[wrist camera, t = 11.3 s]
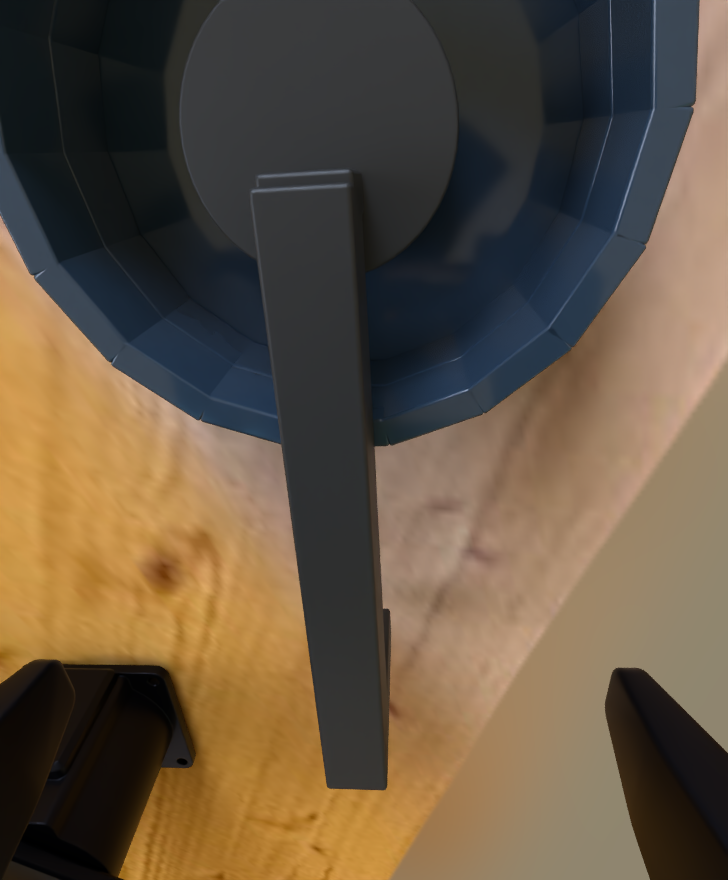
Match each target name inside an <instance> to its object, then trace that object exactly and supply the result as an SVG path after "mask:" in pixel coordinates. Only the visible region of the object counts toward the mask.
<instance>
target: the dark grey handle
mask: <svg viewBox="0 0 728 880" xmlns="http://www.w3.org/2000/svg"><path fill="white" fill-rule="evenodd" d="M179 127H180V136H181V144H182V149H183V154H184V158H185V162H186V166H187V169H188V172H189V175H190V178H191V181H192V183H193V186H194V188H195V190H196V192H197V194H198V196H199V198H200V200H201V203H202V204H203V206H204V207H205V209H206V211H207V212H208V214H209V215H210V217H211V219H212V220H213V221H214V222H215V224H216V225H217V226H218V227H219V229H220V230H221V231H222V232H223V234H224V235H225V236H226V237H227V238H228V239H229V240H230V241H231V242H232V243H233V244H234V245H235V246H237V247H238V248H239V249H240V250H242V251H243V252H244V253H245V254H247V255H248V256H249V257H251V258H252V259H254V260H256V261H257V265H258V273H259V280H260V288H261V295H262V303H263V310H264V318H265V325H266V333H267V340H268V348H269V355H270V363H271V370H272V378H273V385H274V393H275V400H276V408H277V415H278V423H279V431H280V438H281V446H282V453H283V461H284V468H285V476H286V483H287V491H288V498H289V506H290V513H291V521H292V528H293V536H294V543H295V551H296V558H297V566H298V573H299V581H300V588H301V596H302V603H303V611H304V618H305V626H306V633H307V641H308V648H309V656H310V663H311V671H312V678H313V686H314V693H315V701H316V708H317V716H318V723H319V731H320V738H321V746H322V754H323V761H324V769H325V776H326V784H327V787H328V788H330V789H360V790H386V788H387V774H388V735H389V696H390V657H391V620H390V611H389V609H383V603H382V584H381V565H380V546H379V527H378V508H377V488H376V469H375V450H374V431H373V412H372V392H371V373H370V354H369V335H368V316H367V297H366V277H365V273H367V272H369V271H372V270H374V269H376V268H378V267H380V266H382V265H384V264H385V263H387V262H389V261H391V260H392V259H393V258H395V257H396V256H397V255H399V254H400V253H401V252H403V251H404V250H405V249H406V248H407V247H408V246H409V245H410V244H411V243H412V242H413V241H414V240H415V239H416V238H417V237H418V236H419V235H420V234H421V233H422V231H423V230H424V229H425V228H426V226H427V225H428V224H429V222H430V221H431V219H432V218H433V216H434V214H435V213H436V211H437V209H438V208H439V206H440V204H441V202H442V199H443V197H444V195H445V193H446V190H447V188H448V185H449V182H450V179H451V176H452V173H453V169H454V165H455V160H456V154H457V149H458V138H459V106H458V99H457V93H456V86H455V81H454V78H453V74H452V71H451V67H450V64H449V61H448V58H447V56H446V54H445V51H444V49H443V46H442V44H441V42H440V40H439V38H438V36H437V35H436V33H435V31H434V29H433V28H432V26H431V24H430V22H429V21H428V20H427V18H426V17H425V16H424V14H423V13H422V12H421V10H420V9H419V8H418V7H417V5H416V4H415V3H414V2H413V1H412V0H220V1H219V2H218V3H217V4H216V5H215V7H214V8H213V9H212V11H211V12H210V14H209V15H208V17H207V18H206V19H205V21H204V22H203V24H202V26H201V28H200V30H199V32H198V34H197V36H196V38H195V40H194V42H193V44H192V47H191V50H190V53H189V55H188V58H187V61H186V65H185V69H184V73H183V78H182V82H181V91H180V100H179Z"/></svg>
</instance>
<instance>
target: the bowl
mask: <svg viewBox="0 0 728 880" xmlns="http://www.w3.org/2000/svg"><path fill="white" fill-rule="evenodd" d="M219 1H220V0H0V216H1V218H2V220H3V221H4V223H5V225H6V227H7V229H8V231H9V233H10V235H11V237H12V239H13V241H14V243H15V245H16V247H17V249H18V251H19V253H20V255H21V257H22V259H23V261H24V263H25V265H26V267H27V269H28V271H29V273H30V274H31V275H34V279H35V280H36V282H37V283H38V284H39V285H40V286H41V287H42V288H43V289H44V290H45V292H46V293H47V294H48V295H49V296H50V297H51V298H52V299H53V301H54V302H55V303H56V304H57V305H58V306H59V307H60V308H61V309H62V311H63V312H64V313H65V314H66V315H67V316H68V317H69V318H70V319H71V321H72V322H73V323H74V324H75V325H76V326H77V327H78V328H79V330H80V331H81V332H82V333H83V334H84V335H85V336H86V337H87V338H88V340H89V341H90V342H91V343H92V344H93V345H94V346H95V347H96V348H97V350H98V351H99V352H100V353H101V354H102V355H103V356H104V357H105V359H106V360H107V361H109V362H111V365H112V366H113V367H115V368H116V369H118V370H119V371H121V372H123V373H124V374H126V375H127V376H129V377H130V378H132V379H134V380H135V381H137V382H138V383H140V384H141V385H143V386H145V387H146V388H148V389H149V390H151V391H152V392H154V393H156V394H157V395H159V396H160V397H162V398H163V399H165V400H167V401H168V402H170V403H171V404H173V405H174V406H176V407H177V408H179V409H181V410H182V411H184V412H185V413H187V414H188V415H190V416H192V417H193V418H195V419H196V420H200V419H201V421H202V422H205V423H209V424H212V425H216V426H219V427H223V428H226V429H230V430H233V431H236V432H240V433H243V434H247V435H250V436H254V437H257V438H261V439H264V440H268V441H271V442H275V443H278V444H281V438H280V431H279V423H278V415H277V408H276V400H275V393H274V385H273V378H272V370H271V363H270V355H269V348H268V340H267V333H266V325H265V318H264V310H263V303H262V295H261V288H260V280H259V273H258V265H257V261H256V260H254V259H252V258H251V257H249V256H248V255H247V254H245V253H244V252H243V251H242V250H240V249H239V248H238V247H237V246H235V245H234V244H233V243H232V242H231V241H230V240H229V239H228V238H227V237H226V236H225V235H224V234H223V232H222V231H221V230H220V229H219V227H218V226H217V225H216V224H215V222H214V221H213V220H212V219H211V217H210V215H209V214H208V212H207V211H206V209H205V207H204V206H203V204H202V203H201V200H200V198H199V196H198V194H197V192H196V190H195V188H194V186H193V183H192V181H191V178H190V175H189V172H188V169H187V166H186V162H185V158H184V154H183V149H182V144H181V136H180V127H179V100H180V91H181V82H182V78H183V73H184V69H185V65H186V61H187V58H188V55H189V53H190V50H191V47H192V44H193V42H194V40H195V38H196V36H197V34H198V32H199V30H200V28H201V26H202V24H203V22H204V21H205V19H206V18H207V17H208V15H209V14H210V12H211V11H212V9H213V8H214V7H215V5H216V4H217V3H218V2H219ZM412 1H413V2H414V3H415V4H416V5H417V7H418V8H419V9H420V10H421V12H422V13H423V14H424V16H425V17H426V18H427V20H428V21H429V22H430V24H431V26H432V28H433V29H434V31H435V33H436V35H437V36H438V38H439V40H440V42H441V44H442V46H443V49H444V51H445V54H446V56H447V58H448V61H449V64H450V67H451V71H452V74H453V78H454V81H455V86H456V93H457V99H458V106H459V138H458V149H457V154H456V160H455V165H454V169H453V173H452V176H451V179H450V182H449V185H448V188H447V190H446V193H445V195H444V197H443V199H442V202H441V204H440V206H439V208H438V209H437V211H436V213H435V214H434V216H433V218H432V219H431V221H430V222H429V224H428V225H427V226H426V228H425V229H424V230H423V231H422V233H421V234H420V235H419V236H418V237H417V238H416V239H415V240H414V241H413V242H412V243H411V244H410V245H409V246H408V247H407V248H406V249H405V250H404V251H403V252H401V253H400V254H399V255H397V256H396V257H395V258H393V259H392V260H391V261H389V262H387V263H385V264H384V265H382V266H380V267H378V268H376V269H374V270H372V271H369V272H367V273H365V277H366V297H367V316H368V335H369V354H370V373H371V392H372V412H373V431H374V446H388V445H389V444H390V445H395V444H398V443H401V442H404V441H407V440H410V439H413V438H415V437H418V436H421V435H424V434H427V433H430V432H433V431H436V430H439V429H442V428H444V427H447V426H450V425H453V424H456V423H459V422H462V421H465V420H468V419H471V418H474V417H476V416H479V415H482V414H483V413H486V412H488V411H489V410H491V409H492V408H493V407H495V406H496V405H497V404H499V403H500V402H501V401H503V400H504V399H505V398H507V397H508V396H509V395H511V394H512V393H513V392H515V391H516V390H517V389H519V388H520V387H521V386H523V385H524V384H525V383H527V382H528V381H529V380H531V379H532V378H534V377H535V376H536V375H538V374H539V373H540V372H542V371H543V370H544V369H546V368H547V367H548V366H550V365H551V364H552V363H554V362H555V361H556V360H558V359H559V358H560V357H562V356H563V355H564V354H566V353H567V352H568V351H570V350H571V349H572V348H571V347H574V346H575V344H576V343H577V342H578V340H579V339H580V338H581V336H582V335H583V334H584V332H585V331H586V329H587V328H588V327H589V325H590V324H591V323H592V321H593V320H594V318H595V317H596V316H597V314H598V313H599V312H600V310H601V309H602V308H603V306H604V305H605V303H606V302H607V301H608V299H609V298H610V297H611V295H612V294H613V292H614V291H615V290H616V288H617V287H618V286H619V284H620V283H621V281H622V280H623V279H624V277H625V276H626V275H627V273H628V272H629V271H630V269H631V268H632V266H633V265H634V264H635V262H636V261H637V260H638V258H639V257H640V255H641V254H642V253H643V251H644V250H645V249H646V246H645V244H647V242H648V240H649V238H650V235H651V232H652V229H653V226H654V223H655V220H656V217H657V215H658V212H659V209H660V206H661V203H662V200H663V197H664V195H665V192H666V189H667V186H668V183H669V180H670V177H671V175H672V172H673V169H674V166H675V163H676V160H677V157H678V155H679V152H680V149H681V146H682V143H683V140H684V137H685V135H686V132H687V129H688V126H689V123H690V120H691V117H692V115H693V110H694V108H693V107H691V106H693V105H694V104H695V101H696V79H697V53H698V27H699V1H700V0H412Z"/></svg>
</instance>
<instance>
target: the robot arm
mask: <svg viewBox="0 0 728 880" xmlns="http://www.w3.org/2000/svg"><path fill="white" fill-rule="evenodd" d="M605 713H606V719H607V723H608V727H609V731H610V736H611V740H612V744H613V748H614V753H615V757H616V761H617V765H618V769H619V774H620V778H621V782H622V786H623V791H624V795H625V799H626V803H627V807H628V811H629V815H630V819H631V823H632V827H633V830H634V833H635V836H636V839H637V842H638V845H639V848H640V851H641V854H642V857H643V860H644V863H645V866H646V869H647V872H648V874H649V877H650V880H728V753H727V752H726V751H725V750H724V749H723V748H722V747H721V746H720V745H719V744H718V743H717V742H716V741H715V740H714V739H713V738H712V737H711V736H710V735H709V734H708V733H707V732H706V731H705V730H704V729H703V728H702V727H701V726H700V725H699V724H698V723H697V722H696V721H695V720H694V719H693V718H692V717H691V716H690V715H689V714H688V713H687V712H686V711H685V710H684V709H683V708H682V707H681V706H680V705H679V704H678V703H677V702H676V701H675V700H674V699H673V698H672V697H671V696H670V695H669V694H668V693H667V692H666V691H665V690H664V689H663V688H662V687H661V686H660V685H659V684H658V683H657V682H656V681H655V680H654V679H653V678H652V677H651V676H649V674H648V673H647V672H645V671H644V670H642V669H639V668H616V669H615V670H613V672H612V675H611V679H610V684H609V688H608V692H607V696H606V701H605ZM195 756H196V753H195V750H194V747H193V744H192V741H191V738H190V735H189V732H188V729H187V726H186V723H185V720H184V717H183V714H182V711H181V708H180V705H179V702H178V699H177V696H176V693H175V690H174V687H173V685H172V682H171V679H170V676H169V673H168V672H167V670H165V669H164V668H162V667H160V666H151V665H69V664H62V663H61V662H60V661H58V660H44V659H39V660H34V661H32V662H30V663H28V664H26V665H24V666H23V667H22V668H21V669H20V670H19V671H17V672H16V673H15V674H13V675H12V676H11V677H9V678H8V679H6V680H5V681H4V682H2V683H1V684H0V880H123V879H121V878H118V876H119V873H120V871H121V868H122V865H123V863H124V860H125V858H126V855H127V853H128V850H129V847H130V845H131V842H132V840H133V837H134V835H135V832H136V829H137V827H138V824H139V822H140V819H141V817H142V814H143V811H144V809H145V806H146V804H147V801H148V799H149V796H150V793H151V791H152V788H153V786H154V783H155V781H156V778H157V775H158V773H159V770H160V768H161V767H164V768H189V767H191V766H192V765H193V762H194V759H195Z"/></svg>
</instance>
